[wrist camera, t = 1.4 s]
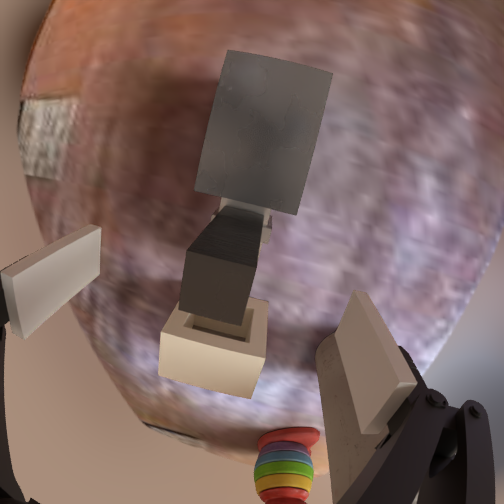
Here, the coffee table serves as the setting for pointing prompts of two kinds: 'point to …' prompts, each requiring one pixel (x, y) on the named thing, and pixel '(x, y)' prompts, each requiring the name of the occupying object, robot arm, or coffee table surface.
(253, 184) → the grey block
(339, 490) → the thermos bottle
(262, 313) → the socket block
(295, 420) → the coffee table surface
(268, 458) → the stacking bear
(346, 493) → the robot arm
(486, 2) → the coffee table surface
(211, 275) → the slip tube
